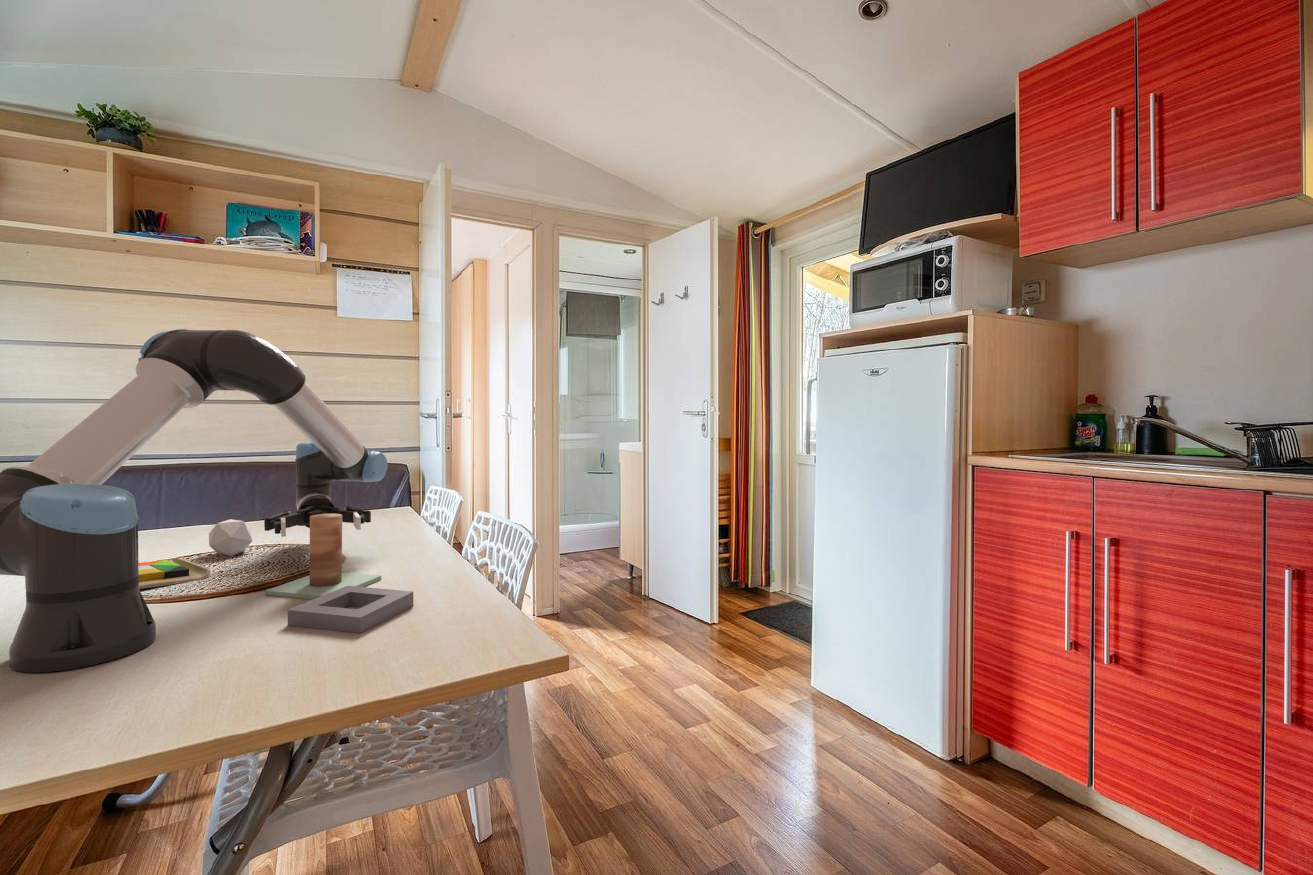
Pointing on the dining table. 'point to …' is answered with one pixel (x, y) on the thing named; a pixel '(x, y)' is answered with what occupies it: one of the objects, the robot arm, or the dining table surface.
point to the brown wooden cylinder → (325, 549)
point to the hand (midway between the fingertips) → (322, 526)
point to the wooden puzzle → (170, 572)
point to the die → (230, 537)
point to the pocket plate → (337, 617)
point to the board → (306, 591)
